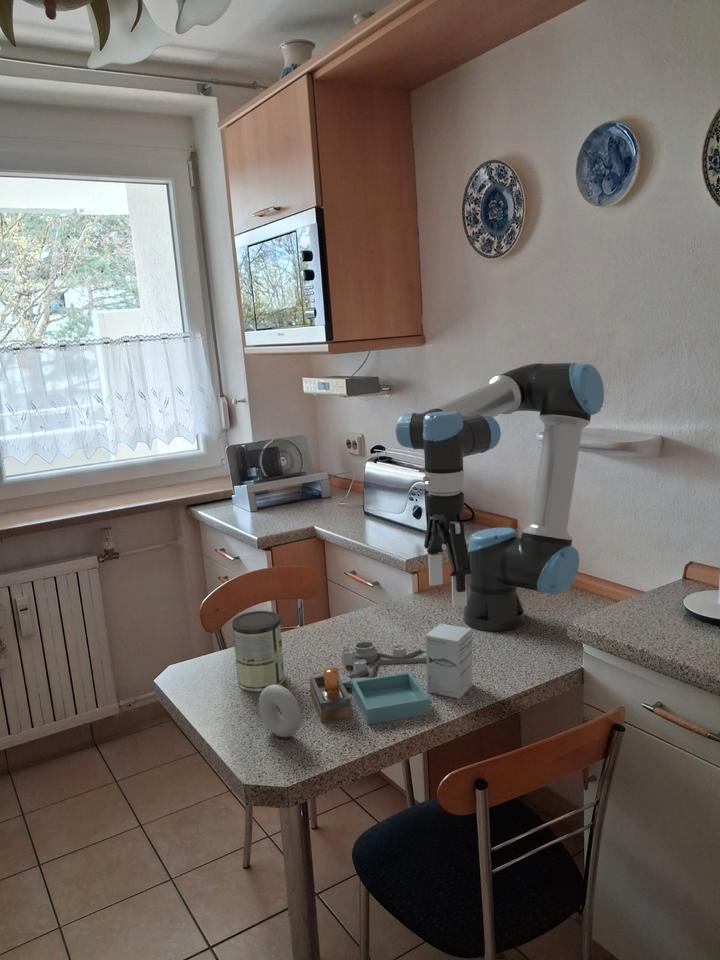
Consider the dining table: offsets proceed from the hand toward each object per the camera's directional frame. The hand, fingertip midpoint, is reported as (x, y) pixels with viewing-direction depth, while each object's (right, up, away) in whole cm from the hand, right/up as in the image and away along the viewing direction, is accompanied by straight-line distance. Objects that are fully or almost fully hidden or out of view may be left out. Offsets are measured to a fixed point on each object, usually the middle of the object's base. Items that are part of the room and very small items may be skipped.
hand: (447, 595), depth 155 cm
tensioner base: (-23, -22, -1) cm, 32 cm away
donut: (-32, -25, -11) cm, 42 cm away
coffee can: (-39, -21, +12) cm, 46 cm away
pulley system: (-13, -19, +17) cm, 29 cm away
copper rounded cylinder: (-23, -20, -4) cm, 31 cm away
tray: (-11, -22, -1) cm, 24 cm away
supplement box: (+1, -20, +4) cm, 21 cm away
